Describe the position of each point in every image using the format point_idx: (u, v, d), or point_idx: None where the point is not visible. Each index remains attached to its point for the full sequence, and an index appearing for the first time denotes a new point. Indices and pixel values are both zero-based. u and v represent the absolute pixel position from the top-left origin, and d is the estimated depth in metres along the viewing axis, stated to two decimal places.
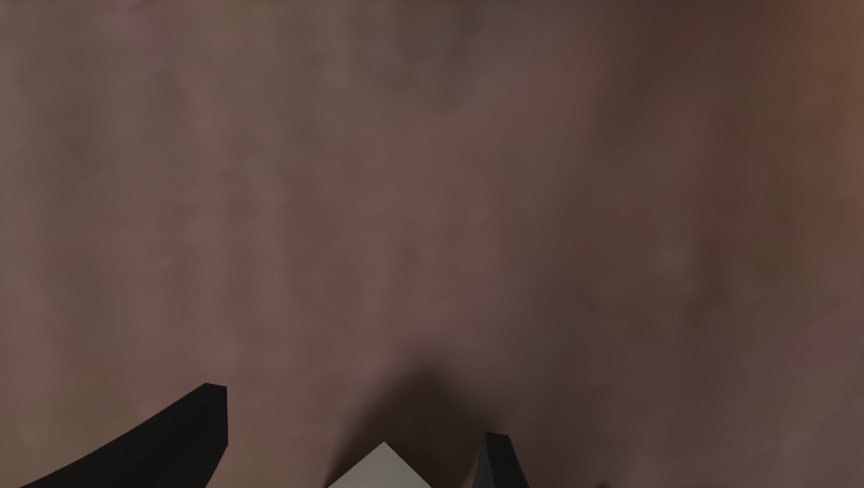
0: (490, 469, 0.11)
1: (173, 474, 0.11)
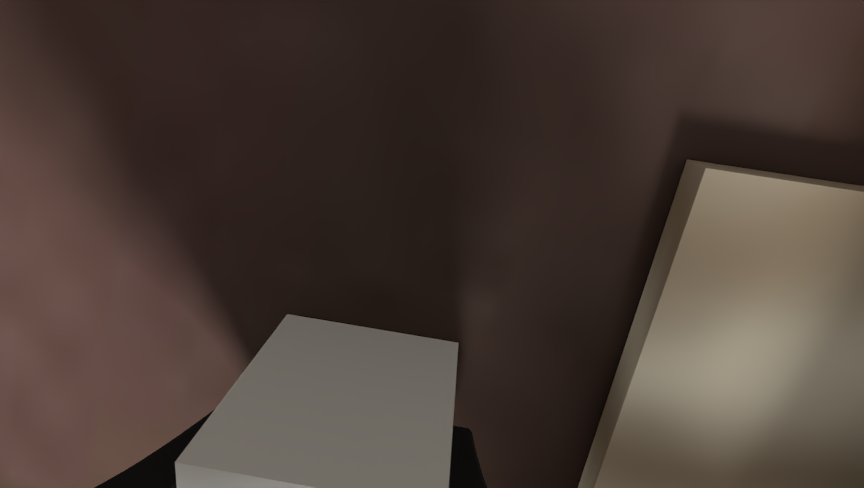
0: None
1: None
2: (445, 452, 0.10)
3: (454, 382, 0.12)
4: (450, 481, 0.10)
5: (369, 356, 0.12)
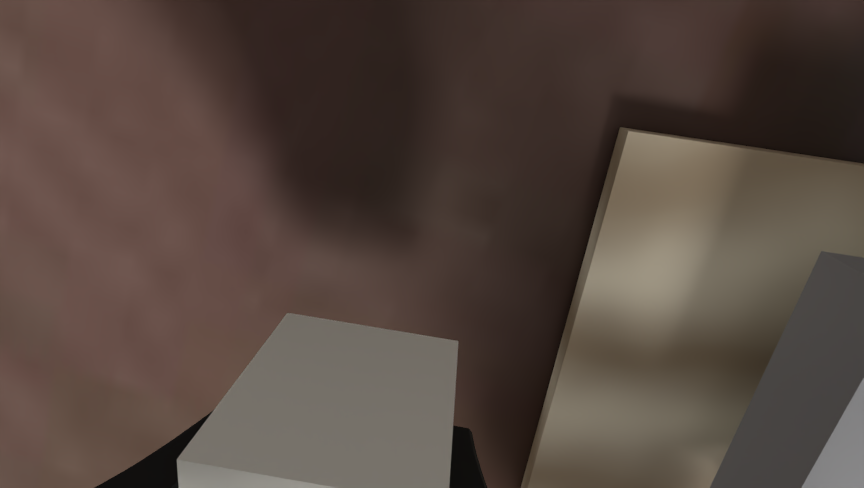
0: None
1: None
2: (446, 449, 0.10)
3: (454, 380, 0.12)
4: (450, 481, 0.10)
5: (369, 354, 0.12)
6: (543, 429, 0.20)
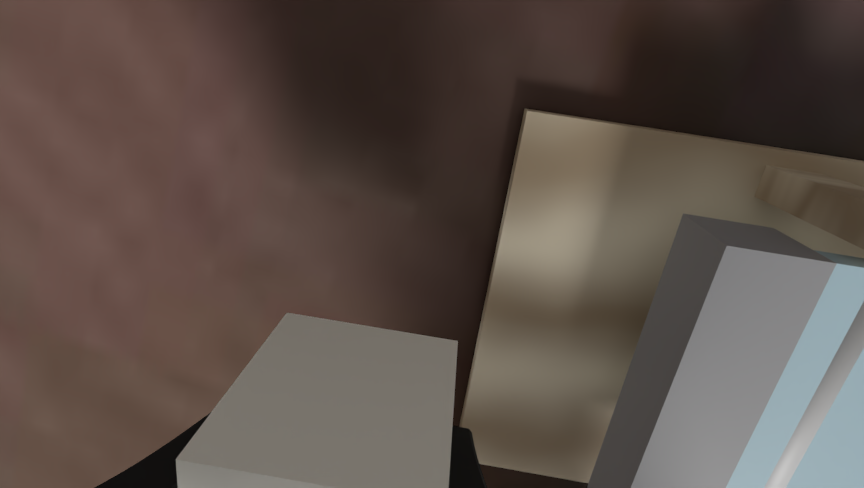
0: None
1: None
2: (445, 449, 0.10)
3: (454, 380, 0.12)
4: (450, 481, 0.10)
5: (369, 354, 0.12)
6: (469, 384, 0.22)
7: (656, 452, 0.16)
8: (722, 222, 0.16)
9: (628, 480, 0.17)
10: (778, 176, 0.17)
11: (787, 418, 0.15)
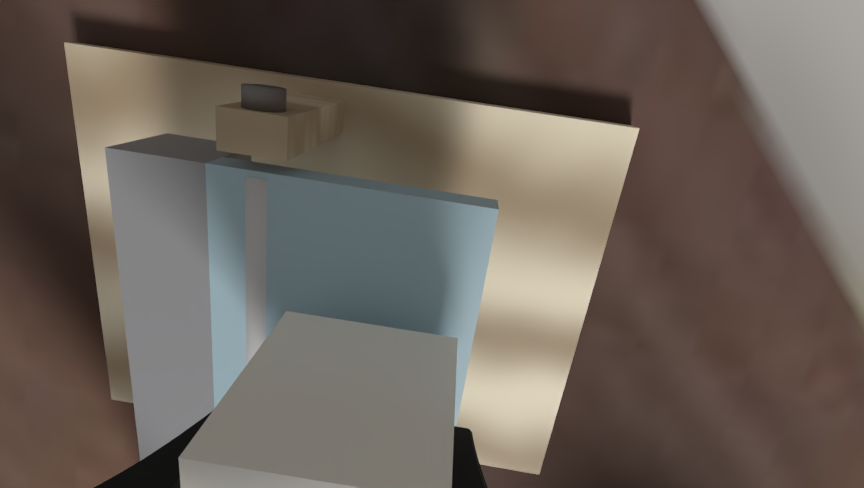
0: None
1: None
2: (447, 445, 0.10)
3: (454, 376, 0.12)
4: None
5: (370, 351, 0.12)
6: (102, 322, 0.23)
7: (139, 362, 0.17)
8: (193, 139, 0.16)
9: (138, 394, 0.17)
10: None
11: (234, 324, 0.16)
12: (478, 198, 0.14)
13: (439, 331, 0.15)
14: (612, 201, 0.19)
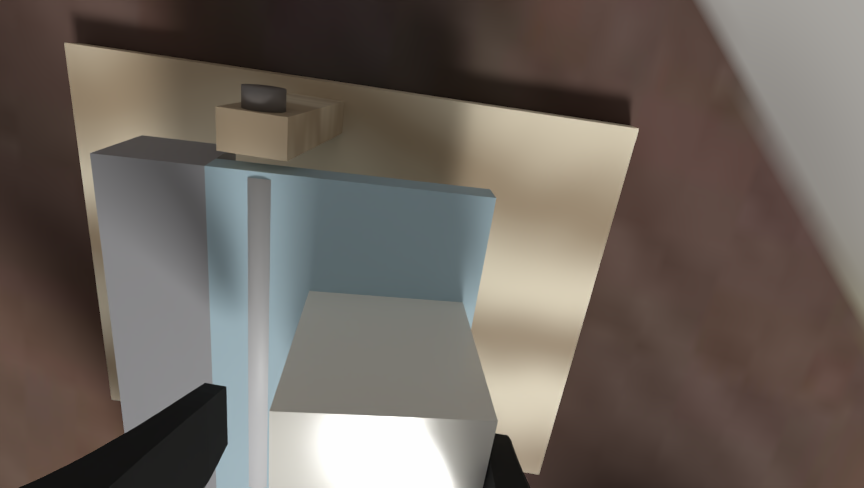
0: (490, 469, 0.11)
1: (172, 474, 0.11)
2: (482, 382, 0.12)
3: (470, 332, 0.14)
4: None
5: (394, 318, 0.14)
6: (102, 322, 0.23)
7: (129, 375, 0.16)
8: (173, 141, 0.16)
9: (126, 409, 0.17)
10: None
11: (235, 326, 0.15)
12: (473, 188, 0.15)
13: None
14: (612, 201, 0.19)
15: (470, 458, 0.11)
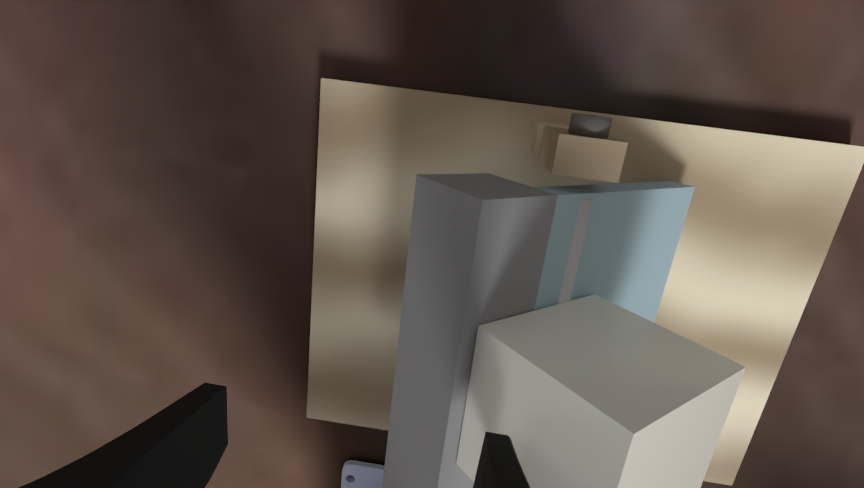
0: (491, 469, 0.11)
1: (172, 474, 0.11)
2: (662, 411, 0.11)
3: (713, 385, 0.12)
4: None
5: (643, 338, 0.14)
6: (310, 341, 0.24)
7: (455, 430, 0.15)
8: (453, 176, 0.15)
9: (433, 471, 0.15)
10: (537, 128, 0.19)
11: None
12: (668, 182, 0.19)
13: (652, 287, 0.20)
14: (836, 216, 0.20)
15: (602, 462, 0.11)
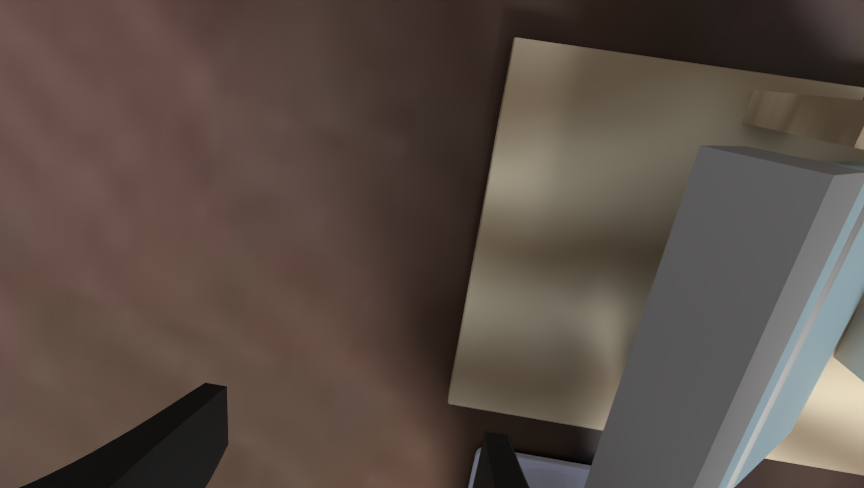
0: (490, 469, 0.11)
1: (172, 475, 0.11)
2: None
3: None
4: None
5: None
6: (462, 325, 0.22)
7: (722, 430, 0.13)
8: (732, 148, 0.13)
9: (686, 472, 0.14)
10: (765, 98, 0.17)
11: (796, 337, 0.15)
12: None
13: None
14: None
15: None
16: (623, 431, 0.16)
